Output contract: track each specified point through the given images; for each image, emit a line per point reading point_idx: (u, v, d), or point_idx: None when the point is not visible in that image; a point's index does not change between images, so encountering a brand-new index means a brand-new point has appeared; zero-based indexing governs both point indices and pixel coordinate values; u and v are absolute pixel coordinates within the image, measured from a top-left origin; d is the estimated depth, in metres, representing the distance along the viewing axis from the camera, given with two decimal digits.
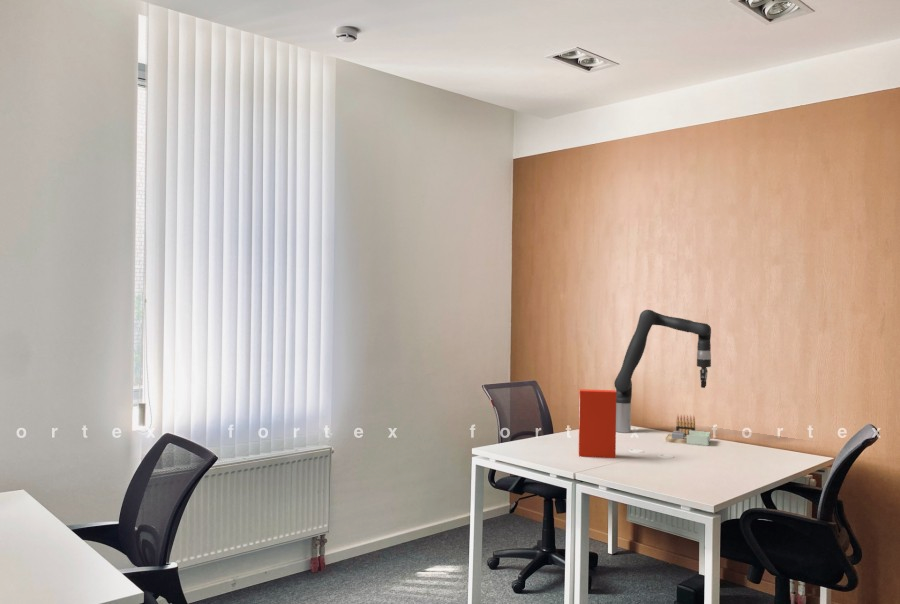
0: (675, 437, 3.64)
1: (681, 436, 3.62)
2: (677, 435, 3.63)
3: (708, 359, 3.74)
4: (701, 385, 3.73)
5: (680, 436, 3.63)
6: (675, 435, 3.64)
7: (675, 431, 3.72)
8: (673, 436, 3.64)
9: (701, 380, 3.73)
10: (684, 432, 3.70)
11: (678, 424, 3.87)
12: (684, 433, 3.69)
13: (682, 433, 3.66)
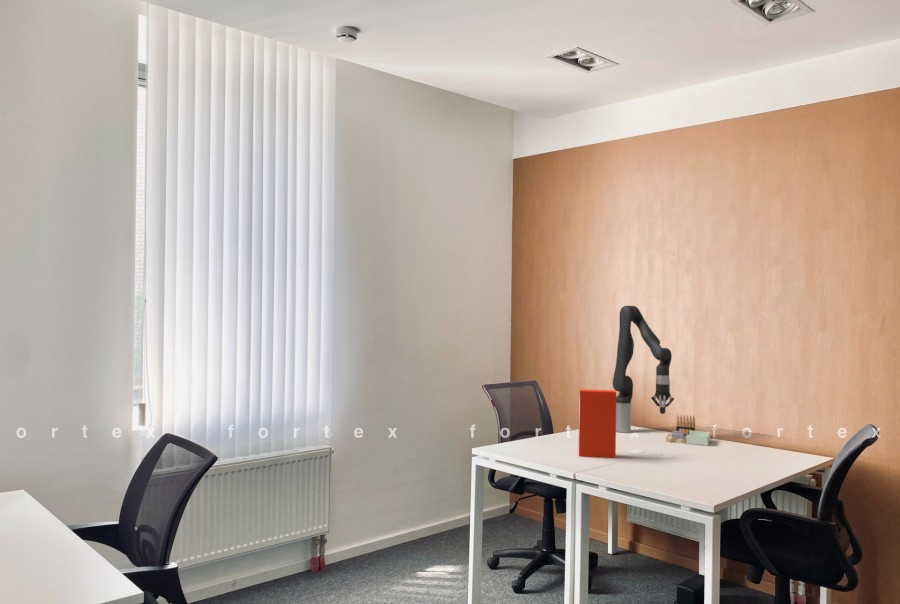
0: (675, 437, 3.64)
1: (681, 436, 3.62)
2: (677, 435, 3.63)
3: None
4: (663, 411, 3.75)
5: (680, 436, 3.63)
6: (675, 435, 3.64)
7: (675, 431, 3.72)
8: (673, 436, 3.64)
9: (664, 406, 3.75)
10: (684, 432, 3.70)
11: (678, 424, 3.87)
12: (684, 433, 3.69)
13: (682, 433, 3.66)
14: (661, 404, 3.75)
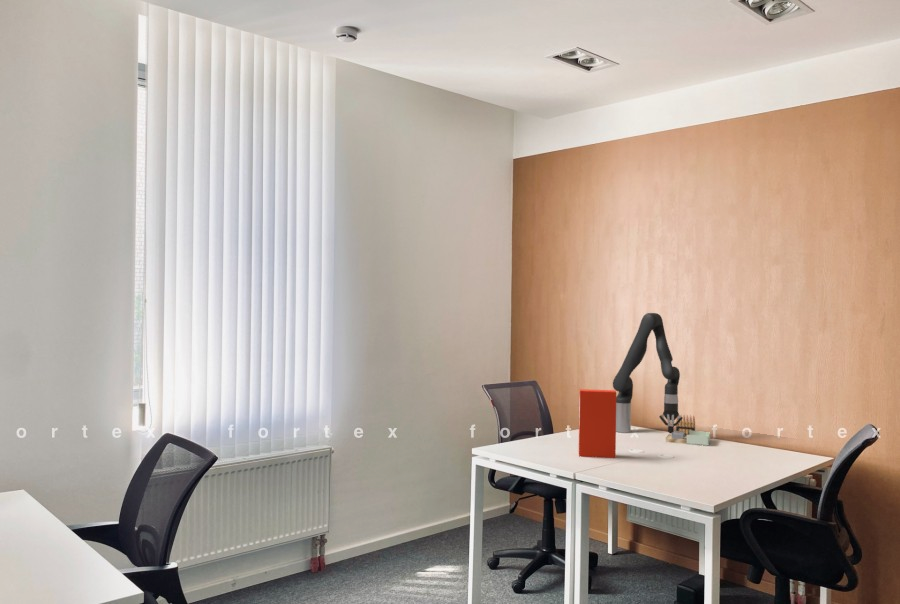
0: (675, 437, 3.64)
1: (681, 436, 3.62)
2: (677, 435, 3.63)
3: None
4: (672, 431, 3.73)
5: (680, 436, 3.63)
6: (675, 435, 3.64)
7: (675, 431, 3.72)
8: (673, 436, 3.64)
9: (673, 426, 3.73)
10: (684, 432, 3.70)
11: (678, 424, 3.87)
12: (684, 433, 3.69)
13: (682, 433, 3.66)
14: (669, 423, 3.73)
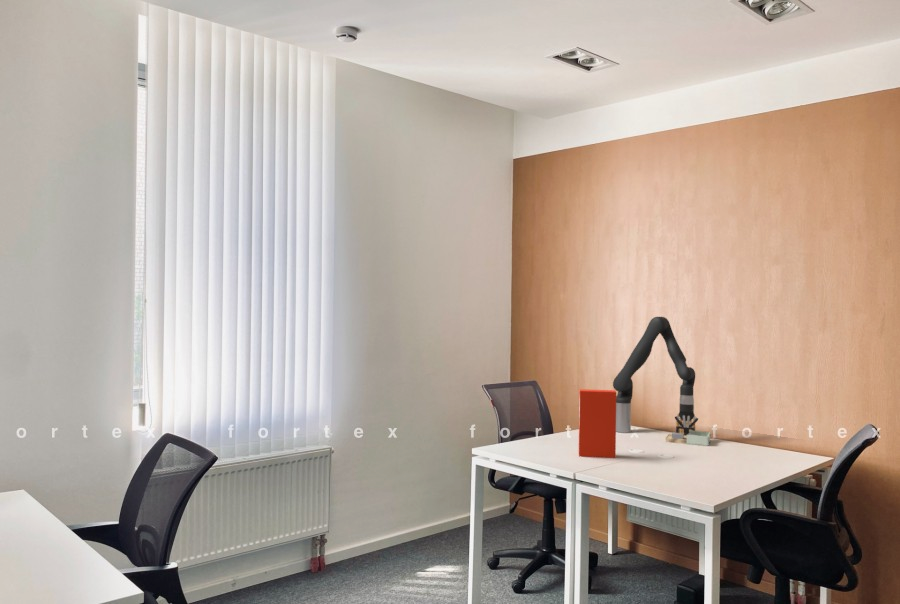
0: (675, 437, 3.64)
1: (681, 436, 3.62)
2: (677, 435, 3.63)
3: None
4: (687, 432, 3.69)
5: (680, 436, 3.63)
6: (675, 435, 3.64)
7: (691, 433, 3.69)
8: (673, 436, 3.64)
9: (688, 427, 3.69)
10: None
11: (678, 424, 3.87)
12: None
13: (682, 433, 3.66)
14: (685, 424, 3.70)
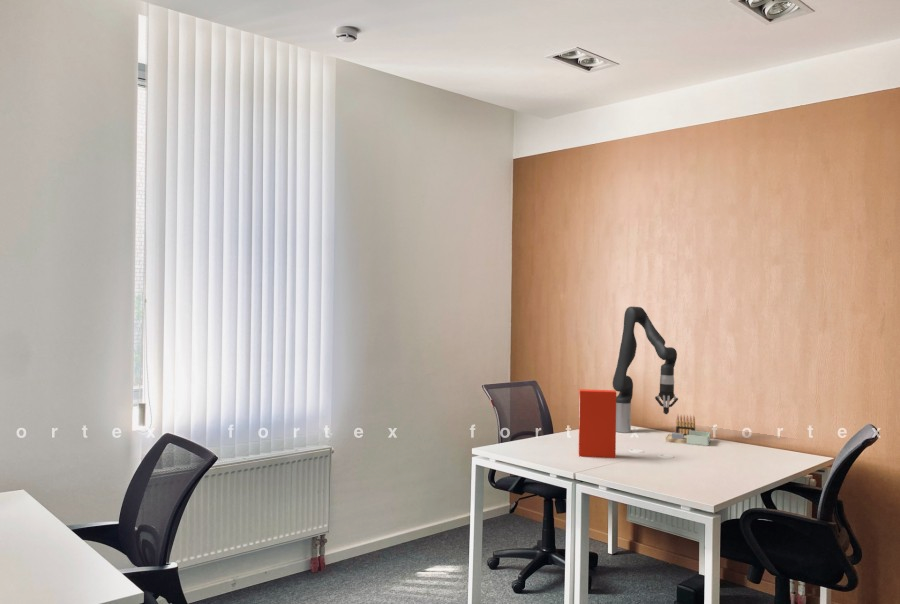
0: (675, 437, 3.64)
1: (681, 436, 3.62)
2: (677, 435, 3.63)
3: None
4: (667, 412, 3.70)
5: (680, 436, 3.63)
6: (675, 435, 3.64)
7: None
8: (673, 436, 3.64)
9: (668, 407, 3.69)
10: None
11: (678, 424, 3.87)
12: None
13: (682, 433, 3.66)
14: (665, 404, 3.70)
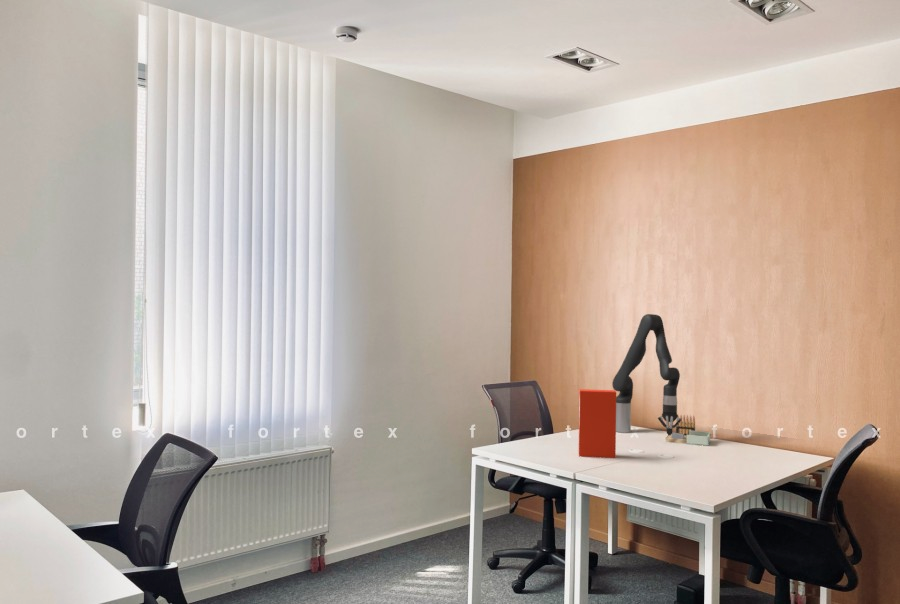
0: (675, 437, 3.64)
1: (681, 436, 3.62)
2: (677, 435, 3.63)
3: None
4: (670, 433, 3.66)
5: (680, 436, 3.63)
6: (675, 435, 3.64)
7: None
8: (673, 436, 3.64)
9: None
10: None
11: (678, 424, 3.87)
12: None
13: (682, 433, 3.66)
14: (668, 425, 3.67)
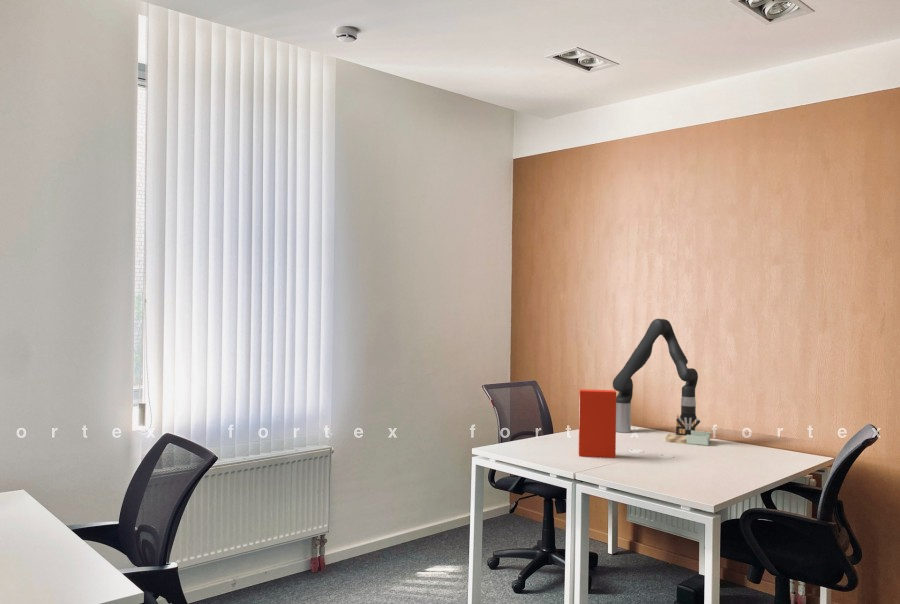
0: None
1: None
2: None
3: None
4: (689, 434, 3.62)
5: None
6: None
7: None
8: None
9: (690, 429, 3.62)
10: None
11: (678, 424, 3.87)
12: None
13: None
14: (687, 426, 3.63)
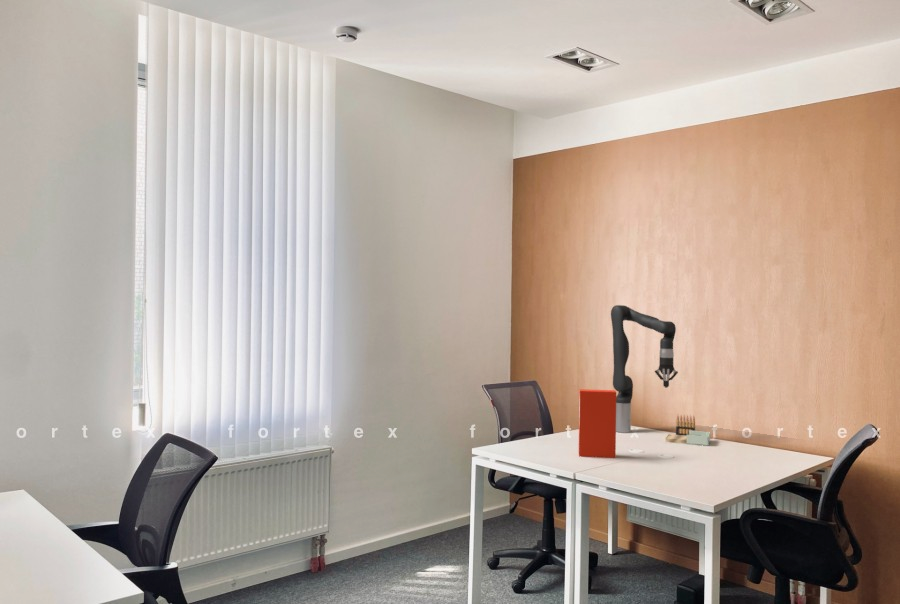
0: None
1: None
2: None
3: None
4: (667, 385, 3.73)
5: None
6: None
7: None
8: None
9: (668, 380, 3.73)
10: None
11: (678, 424, 3.87)
12: None
13: None
14: (665, 378, 3.73)
